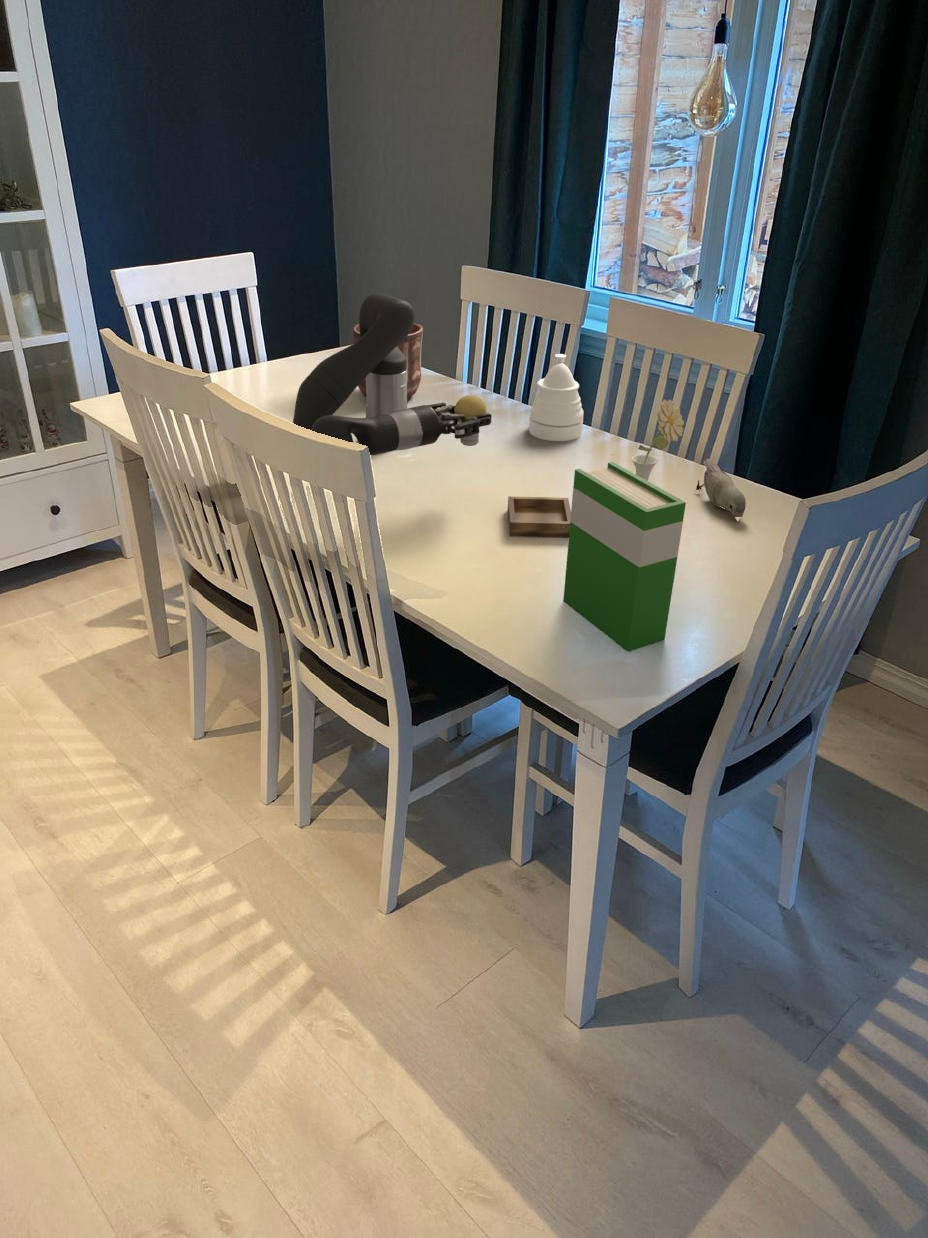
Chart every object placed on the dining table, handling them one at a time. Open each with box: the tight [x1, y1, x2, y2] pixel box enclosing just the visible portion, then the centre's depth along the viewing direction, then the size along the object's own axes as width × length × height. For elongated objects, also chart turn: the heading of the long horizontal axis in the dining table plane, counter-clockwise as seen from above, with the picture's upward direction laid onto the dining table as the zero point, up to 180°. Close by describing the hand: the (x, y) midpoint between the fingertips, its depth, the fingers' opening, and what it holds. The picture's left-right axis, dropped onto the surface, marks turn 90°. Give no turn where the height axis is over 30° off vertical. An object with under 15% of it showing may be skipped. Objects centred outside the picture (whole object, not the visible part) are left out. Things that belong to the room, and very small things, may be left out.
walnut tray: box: [507, 496, 571, 539], centre depth 189 cm, size 12×12×3 cm
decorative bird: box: [695, 458, 747, 518], centre depth 198 cm, size 5×16×8 cm, turn 15°
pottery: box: [352, 322, 424, 401], centre depth 249 cm, size 18×18×18 cm
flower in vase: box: [631, 399, 685, 482], centre depth 185 cm, size 13×11×25 cm
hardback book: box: [562, 461, 687, 653], centre depth 153 cm, size 18×7×24 cm, turn 30°
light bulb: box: [454, 394, 488, 447], centre depth 194 cm, size 6×6×10 cm
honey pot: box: [528, 353, 585, 442], centre depth 230 cm, size 13×13×18 cm
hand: (479, 413), depth 194 cm, fingers closed on light bulb, 6 cm apart
